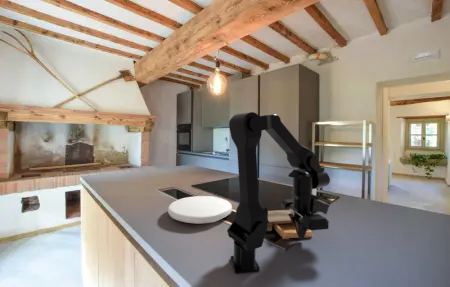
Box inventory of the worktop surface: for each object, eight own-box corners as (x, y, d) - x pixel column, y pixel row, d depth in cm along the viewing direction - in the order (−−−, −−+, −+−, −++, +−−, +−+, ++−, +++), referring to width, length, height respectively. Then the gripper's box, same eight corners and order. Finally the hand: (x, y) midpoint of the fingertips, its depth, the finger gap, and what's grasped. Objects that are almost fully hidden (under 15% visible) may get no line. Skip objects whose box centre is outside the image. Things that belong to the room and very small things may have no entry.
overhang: (314, 227, 76) (314, 218, 76) (262, 231, 73) (262, 222, 72) (300, 216, 86) (300, 209, 85) (254, 219, 82) (254, 211, 82)
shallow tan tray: (312, 237, 69) (312, 231, 69) (283, 239, 67) (284, 233, 67) (291, 220, 82) (291, 215, 82) (268, 221, 81) (268, 216, 81)
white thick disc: (184, 192, 104) (236, 196, 99) (184, 205, 104) (236, 209, 99) (155, 205, 77) (224, 211, 72) (154, 222, 77) (224, 230, 71)
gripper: (346, 198, 57) (345, 253, 58) (308, 183, 76) (307, 224, 76) (310, 200, 55) (308, 256, 56) (280, 184, 74) (279, 226, 74)
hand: (301, 238), depth 66 cm, fingers closed
